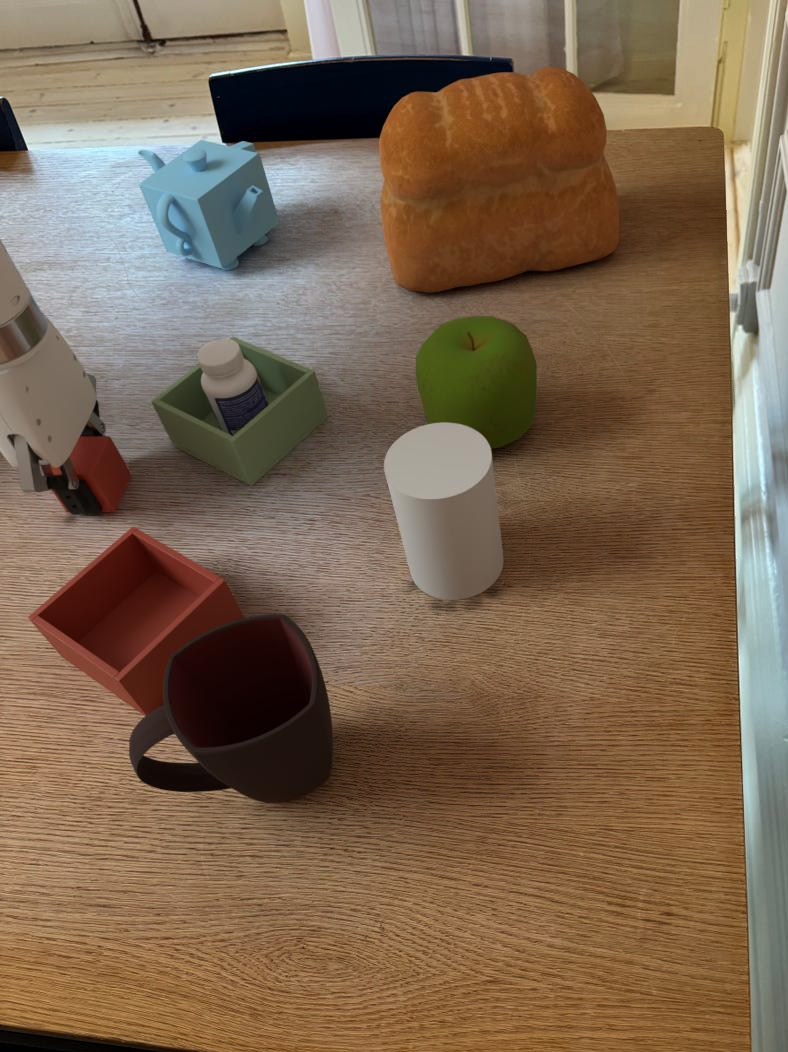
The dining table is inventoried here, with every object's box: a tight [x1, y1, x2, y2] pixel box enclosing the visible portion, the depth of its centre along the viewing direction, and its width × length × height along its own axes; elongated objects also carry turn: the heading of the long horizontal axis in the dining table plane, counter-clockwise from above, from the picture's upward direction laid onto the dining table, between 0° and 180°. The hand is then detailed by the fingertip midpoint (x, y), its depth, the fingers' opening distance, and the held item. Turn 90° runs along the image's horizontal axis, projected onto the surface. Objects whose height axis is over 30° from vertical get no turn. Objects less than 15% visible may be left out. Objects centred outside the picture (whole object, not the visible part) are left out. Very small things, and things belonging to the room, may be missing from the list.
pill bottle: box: [196, 338, 269, 436], centre depth 84 cm, size 5×5×9 cm
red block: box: [50, 435, 133, 513], centre depth 83 cm, size 5×5×5 cm
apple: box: [415, 315, 538, 450], centre depth 81 cm, size 11×11×11 cm
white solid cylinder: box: [383, 423, 505, 601], centre depth 71 cm, size 8×8×12 cm
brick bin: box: [27, 525, 246, 717], centre depth 72 cm, size 11×11×6 cm
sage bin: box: [150, 336, 329, 487], centre depth 86 cm, size 11×11×6 cm
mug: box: [128, 613, 334, 804], centre depth 61 cm, size 10×14×12 cm
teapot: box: [137, 139, 280, 271], centre depth 104 cm, size 16×18×11 cm
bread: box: [378, 66, 620, 294], centre depth 95 cm, size 16×26×17 cm, turn 100°
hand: (97, 488), depth 85 cm, fingers closed on red block, 5 cm apart
